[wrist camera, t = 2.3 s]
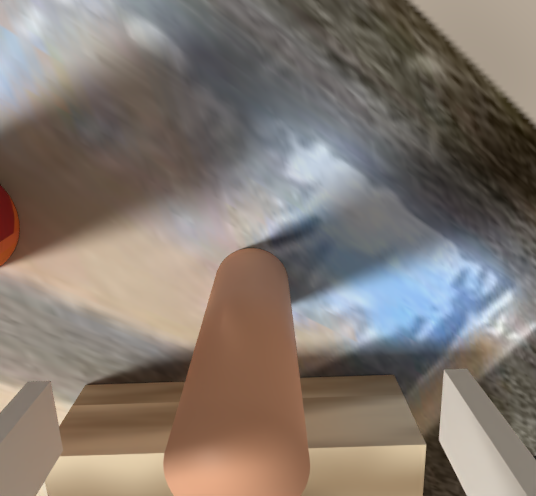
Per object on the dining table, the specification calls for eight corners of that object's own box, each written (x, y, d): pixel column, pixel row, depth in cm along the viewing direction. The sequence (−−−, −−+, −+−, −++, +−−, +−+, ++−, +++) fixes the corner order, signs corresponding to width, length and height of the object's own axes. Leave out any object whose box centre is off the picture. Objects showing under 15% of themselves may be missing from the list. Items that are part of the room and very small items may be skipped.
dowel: (212, 249, 26) (156, 407, 13) (287, 246, 26) (309, 402, 13) (217, 317, 27) (170, 528, 14) (289, 315, 27) (310, 523, 14)
